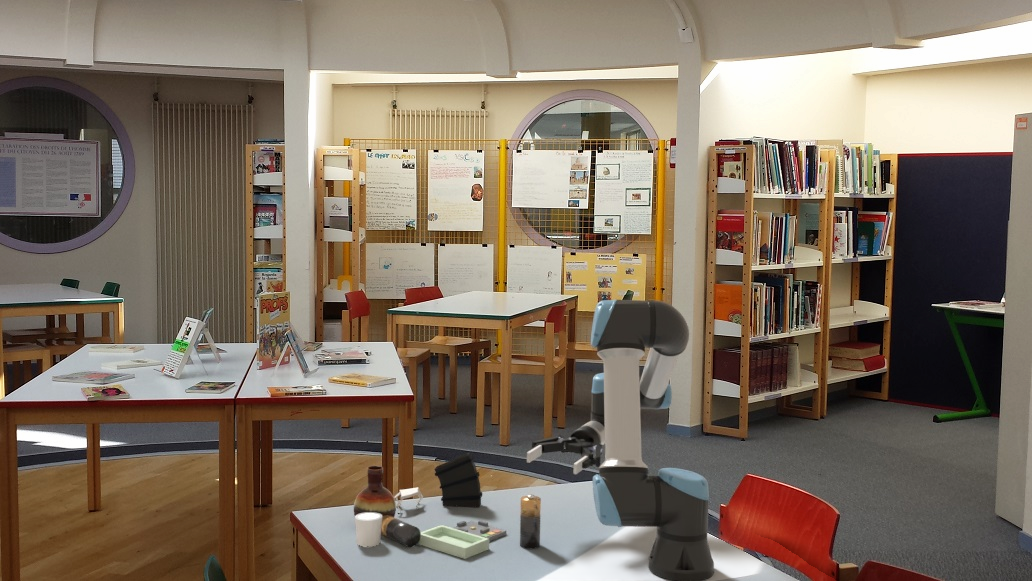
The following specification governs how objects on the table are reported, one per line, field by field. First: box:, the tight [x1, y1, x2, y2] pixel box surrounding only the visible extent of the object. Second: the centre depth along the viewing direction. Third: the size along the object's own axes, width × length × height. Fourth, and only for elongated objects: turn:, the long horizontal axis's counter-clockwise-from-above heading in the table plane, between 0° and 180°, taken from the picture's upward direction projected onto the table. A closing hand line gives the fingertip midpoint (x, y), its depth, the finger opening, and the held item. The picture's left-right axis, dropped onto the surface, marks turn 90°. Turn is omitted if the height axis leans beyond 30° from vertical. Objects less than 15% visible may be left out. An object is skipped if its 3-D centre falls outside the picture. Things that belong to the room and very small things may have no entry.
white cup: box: [354, 512, 383, 547], centre depth 232 cm, size 7×7×7 cm
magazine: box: [433, 452, 483, 509], centre depth 264 cm, size 4×13×15 cm, turn 83°
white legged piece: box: [394, 487, 424, 514], centre depth 260 cm, size 12×8×5 cm
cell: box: [519, 493, 542, 550], centre depth 232 cm, size 5×5×13 cm
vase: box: [353, 465, 397, 518], centre depth 246 cm, size 11×11×15 cm
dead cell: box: [381, 515, 421, 548], centre depth 234 cm, size 13×5×5 cm, turn 42°
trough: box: [416, 524, 490, 560], centre depth 231 cm, size 16×9×3 cm, turn 52°
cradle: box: [452, 520, 507, 542], centre depth 240 cm, size 12×9×2 cm
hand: (551, 463), depth 237 cm, fingers open, 13 cm apart
